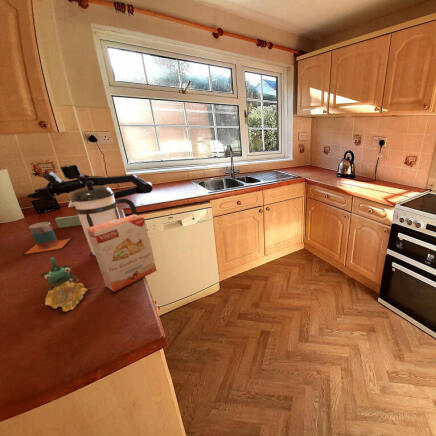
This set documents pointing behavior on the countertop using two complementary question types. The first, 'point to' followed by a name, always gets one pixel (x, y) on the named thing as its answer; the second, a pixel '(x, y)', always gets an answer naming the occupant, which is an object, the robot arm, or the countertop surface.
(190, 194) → the countertop surface
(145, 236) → the cracker box
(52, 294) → the frog figurine
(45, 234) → the can
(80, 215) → the coffee press
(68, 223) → the block
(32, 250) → the cloth
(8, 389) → the countertop surface
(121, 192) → the robot arm
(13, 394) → the countertop surface
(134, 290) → the countertop surface
